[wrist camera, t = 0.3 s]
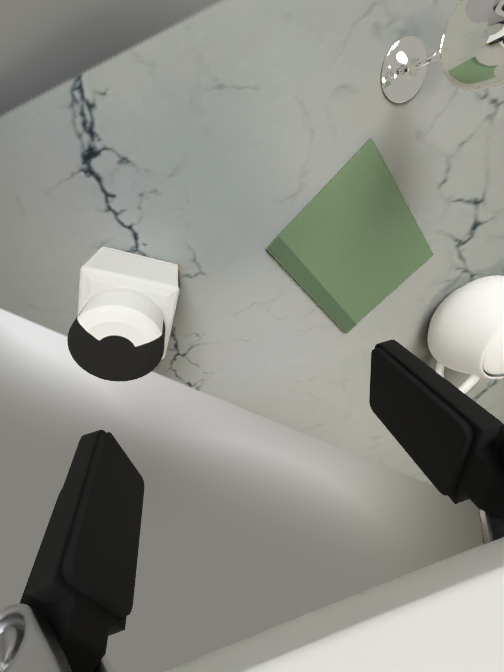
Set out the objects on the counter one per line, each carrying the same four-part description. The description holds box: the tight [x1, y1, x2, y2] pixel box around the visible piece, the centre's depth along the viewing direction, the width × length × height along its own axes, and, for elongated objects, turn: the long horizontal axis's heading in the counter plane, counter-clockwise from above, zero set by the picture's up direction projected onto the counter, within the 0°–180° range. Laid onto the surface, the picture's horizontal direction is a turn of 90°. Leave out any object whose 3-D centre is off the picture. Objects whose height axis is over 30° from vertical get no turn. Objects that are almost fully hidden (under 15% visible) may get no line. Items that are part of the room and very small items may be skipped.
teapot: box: [428, 275, 504, 394], centre depth 36 cm, size 22×14×11 cm, turn 153°
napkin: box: [266, 138, 433, 333], centre depth 32 cm, size 16×14×1 cm
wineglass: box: [381, 0, 504, 103], centre depth 20 cm, size 6×6×12 cm
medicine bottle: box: [68, 247, 180, 381], centre depth 24 cm, size 7×7×12 cm
